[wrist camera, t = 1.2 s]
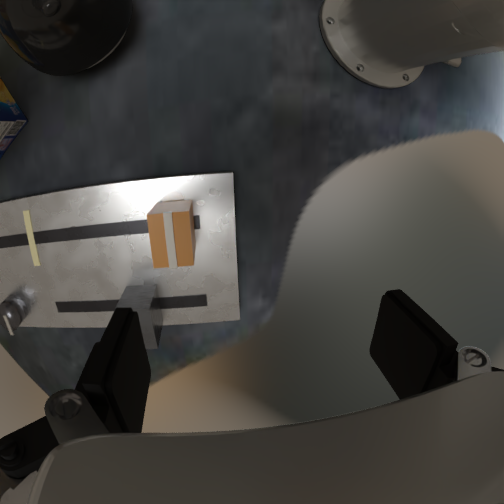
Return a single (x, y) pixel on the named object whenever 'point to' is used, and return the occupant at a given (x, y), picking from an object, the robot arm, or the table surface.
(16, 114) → the beverage box
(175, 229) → the block
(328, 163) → the table surface
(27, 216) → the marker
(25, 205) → the console
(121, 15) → the pump dispenser
